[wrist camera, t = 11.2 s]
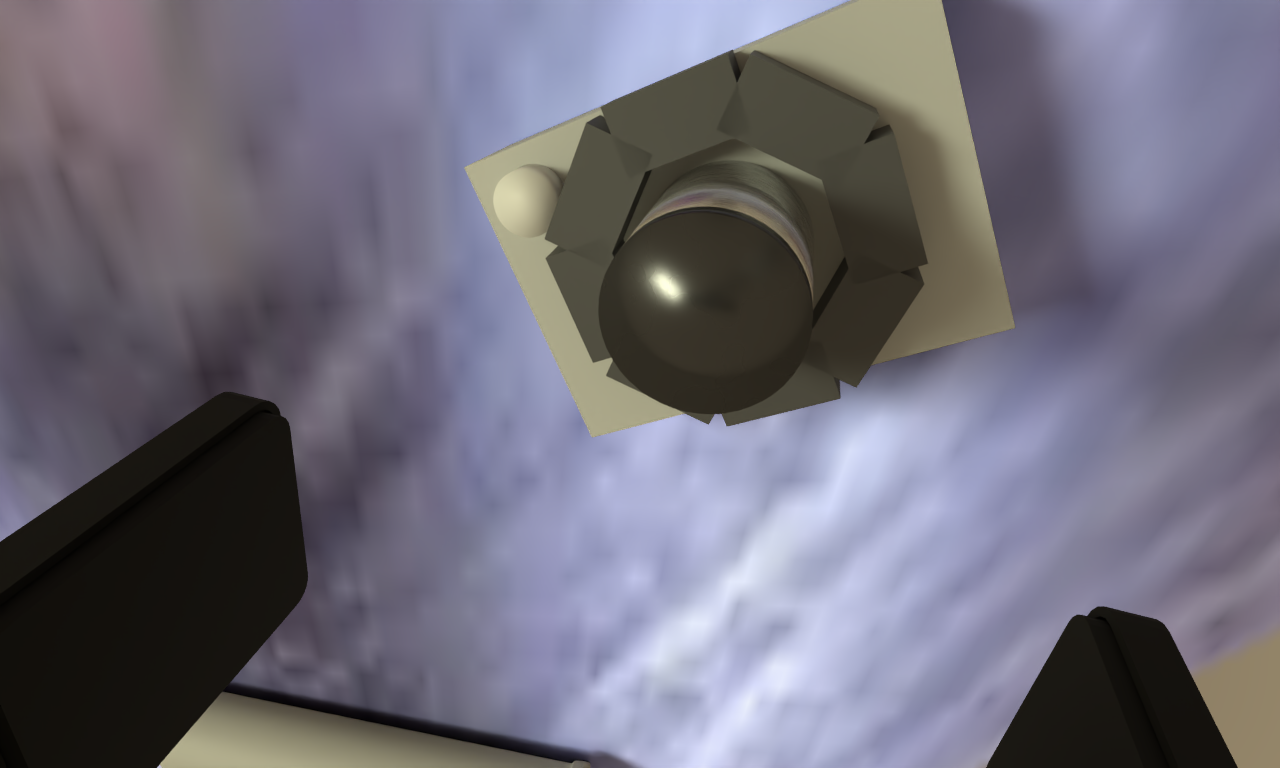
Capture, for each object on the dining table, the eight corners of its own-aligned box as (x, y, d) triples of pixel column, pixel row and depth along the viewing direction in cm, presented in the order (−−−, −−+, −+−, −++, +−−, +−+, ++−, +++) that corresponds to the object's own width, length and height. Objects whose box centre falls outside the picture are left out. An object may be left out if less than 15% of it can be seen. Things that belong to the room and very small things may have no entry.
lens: (659, 146, 22) (610, 193, 17) (832, 176, 21) (837, 236, 16) (637, 305, 24) (588, 390, 19) (792, 336, 24) (785, 433, 19)
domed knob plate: (915, -31, 22) (941, -38, 17) (989, 285, 26) (1028, 352, 21) (508, 142, 27) (441, 174, 22) (618, 388, 31) (581, 462, 26)
